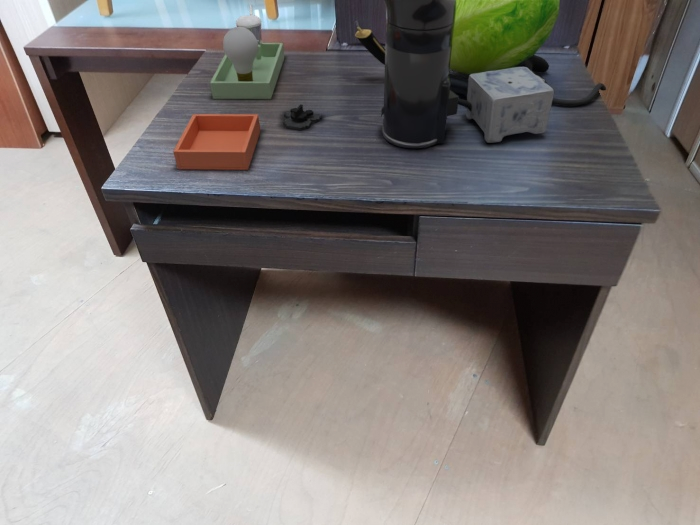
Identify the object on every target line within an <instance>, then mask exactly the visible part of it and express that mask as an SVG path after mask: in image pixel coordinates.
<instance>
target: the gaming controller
mask: <svg viewBox="0 0 700 525" xmlns="http://www.w3.org/2000/svg"><path fill="white" fill-rule="evenodd" d="M515 67H527V68H528V69H529V70H530V71H532V72H533V73H534V74H535V75H537V76H539V77H541V78H543V77H542V76H541V75H540V74H545V73H546V72H547V71H548V70H549V68H550V64H549V62H547V60H546V59H545V58H543V57H541V56H539V55H536V54H534V55H533V56H531V57H529V58H528V59H526V60H524V61H523V62H521V63H519V64H518V65H516V66H515ZM515 67H513V68H515ZM538 73H540V74H538ZM544 83H546V84H548V82H547V81H546V80H545V82H544ZM548 85H549V84H548Z"/></svg>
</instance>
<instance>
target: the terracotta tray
mask: <svg viewBox="0 0 700 525" xmlns="http://www.w3.org/2000/svg"><path fill="white" fill-rule="evenodd" d="M183 130H184V131H183V132H182V134H181V136H180V138H179V140H178V142H177V144H176V145H175V148H174V149H173V157H174V160H175V164H176V167H177V170H220V171H221V170H223V171H224V170H225V171H226V170H227V171H231V170H232V171H233V170H235V171H241V170H242V171H248V170H249V168H250V165H251V162H252V159H253V155H254V153H255V149H256V146H257V143H258V140H259V137H260V134H261V124H260V117H259V114H256V113H255V114H254V113H253V114H252V113H251V114H250V113H249V114H248V113H247V114H246V113H245V114H244V113H242V114H240V113H239V114H238V113H233V114H232V113H208V114H207V113H193V114H192V116H191V117H190V120H189V121H188V123H187V124H186V127H185V129H183Z"/></svg>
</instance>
